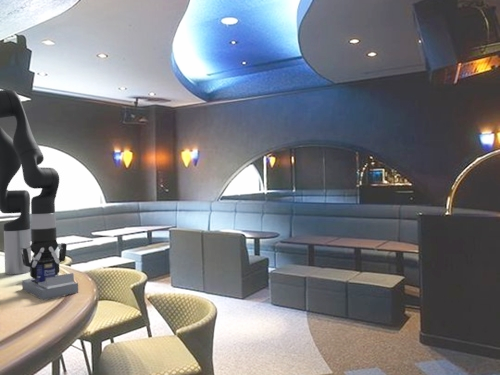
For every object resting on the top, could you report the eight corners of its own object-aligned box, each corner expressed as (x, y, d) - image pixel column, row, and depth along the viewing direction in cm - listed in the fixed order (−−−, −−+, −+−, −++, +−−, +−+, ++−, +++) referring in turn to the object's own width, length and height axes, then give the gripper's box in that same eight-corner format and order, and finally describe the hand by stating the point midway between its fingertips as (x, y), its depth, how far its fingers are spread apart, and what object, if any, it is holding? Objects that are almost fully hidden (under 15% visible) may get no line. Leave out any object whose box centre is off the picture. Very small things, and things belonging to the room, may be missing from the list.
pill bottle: (46, 286, 128) (45, 253, 128) (30, 286, 129) (29, 253, 129) (59, 282, 134) (58, 250, 134) (44, 281, 135) (43, 249, 135)
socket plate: (22, 289, 132) (22, 280, 132) (55, 282, 140) (55, 274, 140) (43, 300, 119) (42, 290, 119) (78, 292, 126) (78, 283, 126)
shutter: (38, 284, 125) (37, 274, 125) (64, 280, 131) (63, 270, 131) (47, 289, 120) (47, 278, 120) (74, 283, 125) (73, 273, 125)
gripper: (23, 229, 124) (25, 282, 124) (70, 225, 134) (71, 274, 134) (16, 228, 129) (17, 278, 129) (61, 224, 139) (62, 270, 140)
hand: (45, 276), depth 132 cm, fingers closed on pill bottle, 6 cm apart
